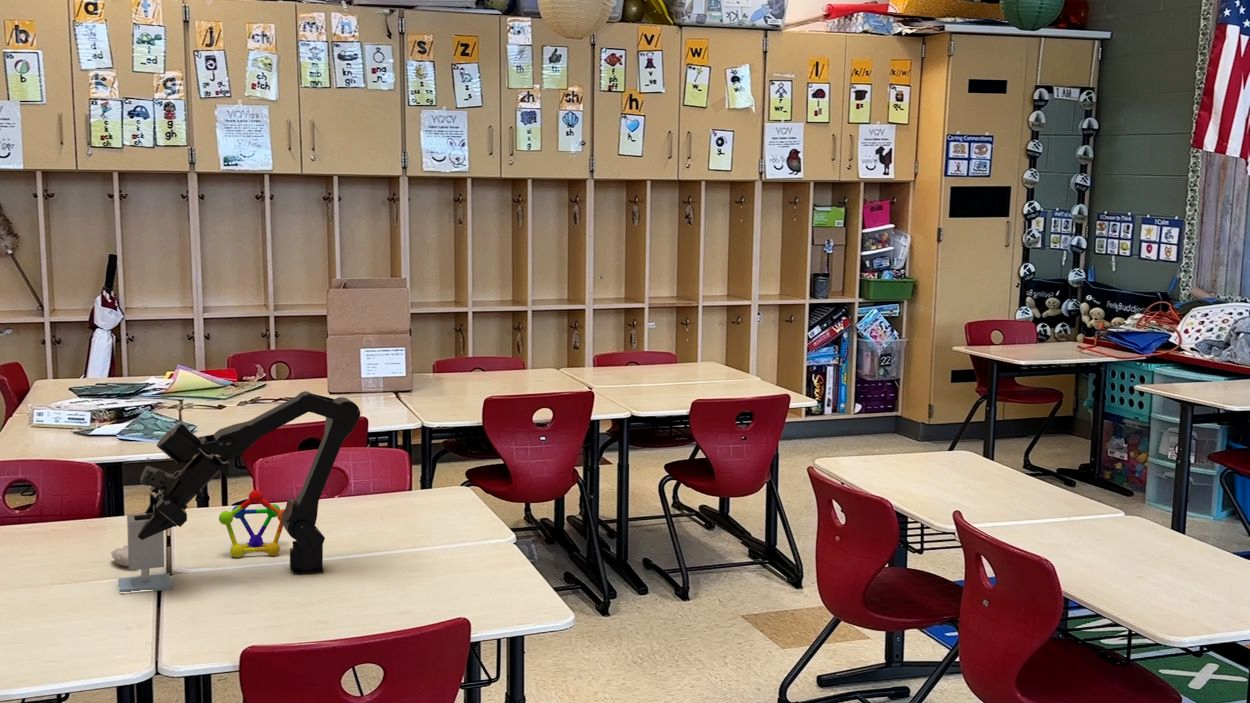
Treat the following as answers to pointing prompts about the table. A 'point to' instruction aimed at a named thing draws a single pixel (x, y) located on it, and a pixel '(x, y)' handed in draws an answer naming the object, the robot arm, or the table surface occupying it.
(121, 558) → the fossil
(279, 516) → the educational toy
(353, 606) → the table surface
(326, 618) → the table surface
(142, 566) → the open metal box
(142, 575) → the shaft stand
